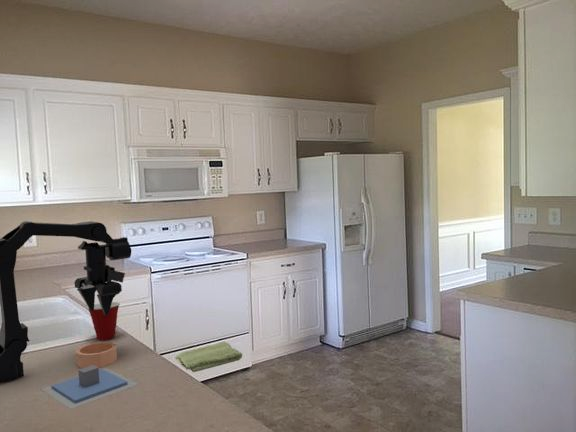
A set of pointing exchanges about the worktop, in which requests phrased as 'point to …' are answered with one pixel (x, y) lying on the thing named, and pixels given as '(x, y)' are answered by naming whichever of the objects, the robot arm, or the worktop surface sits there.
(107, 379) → the cover sheet
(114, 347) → the bowl
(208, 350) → the washcloth
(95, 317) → the plastic cup
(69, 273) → the worktop surface
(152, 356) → the worktop surface
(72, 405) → the mat
